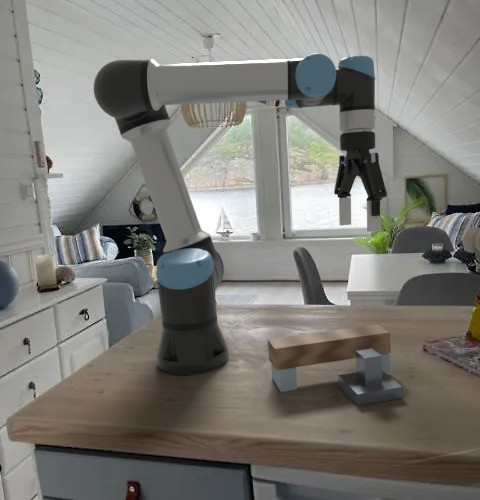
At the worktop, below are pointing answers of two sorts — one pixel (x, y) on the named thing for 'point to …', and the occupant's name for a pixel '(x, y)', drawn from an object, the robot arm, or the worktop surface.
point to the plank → (327, 346)
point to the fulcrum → (369, 380)
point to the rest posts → (288, 379)
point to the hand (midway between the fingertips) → (358, 228)
